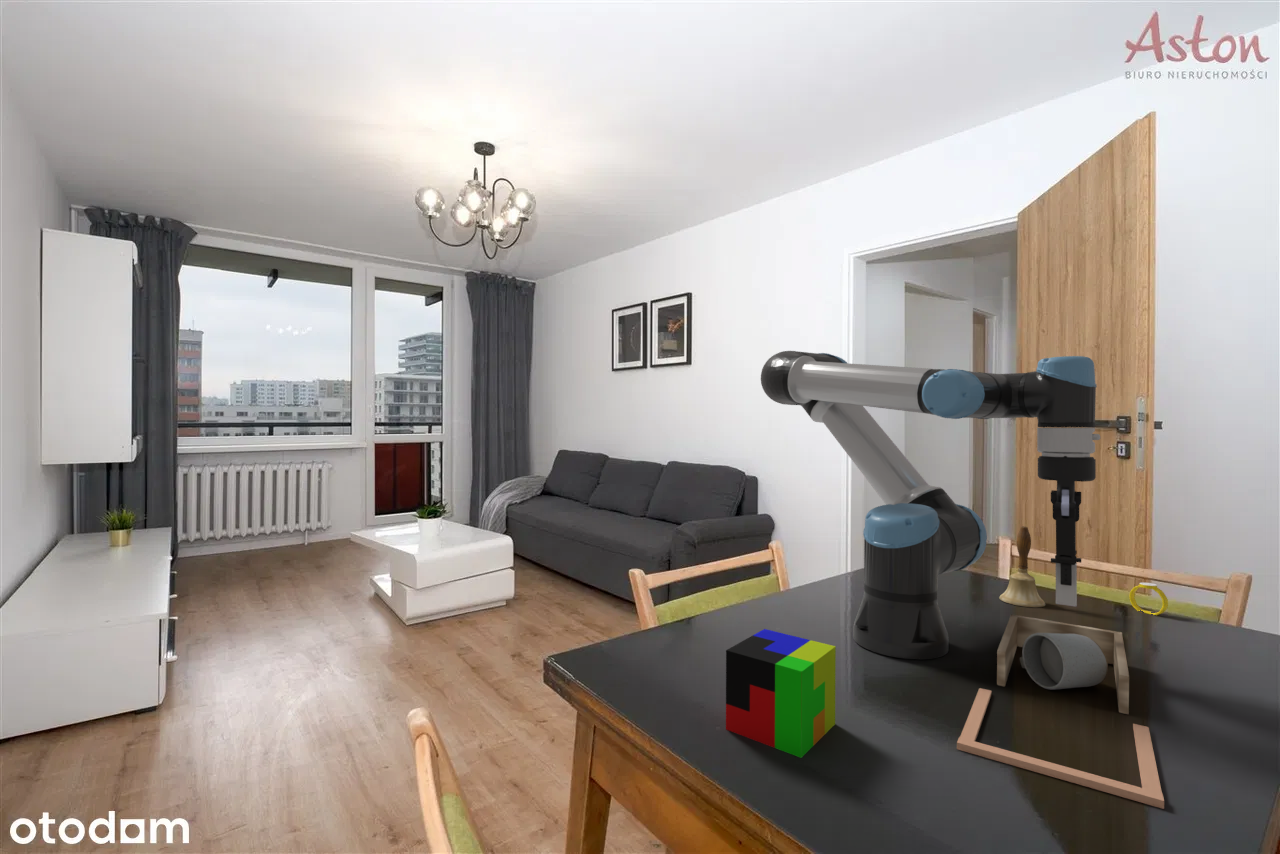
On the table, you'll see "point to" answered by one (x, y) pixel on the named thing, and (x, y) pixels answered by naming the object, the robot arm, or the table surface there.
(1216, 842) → the table surface
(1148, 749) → the terracotta bay
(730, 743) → the table surface
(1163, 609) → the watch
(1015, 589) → the hand bell
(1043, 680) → the ceramic mug
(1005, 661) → the frame
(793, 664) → the puzzle toy
